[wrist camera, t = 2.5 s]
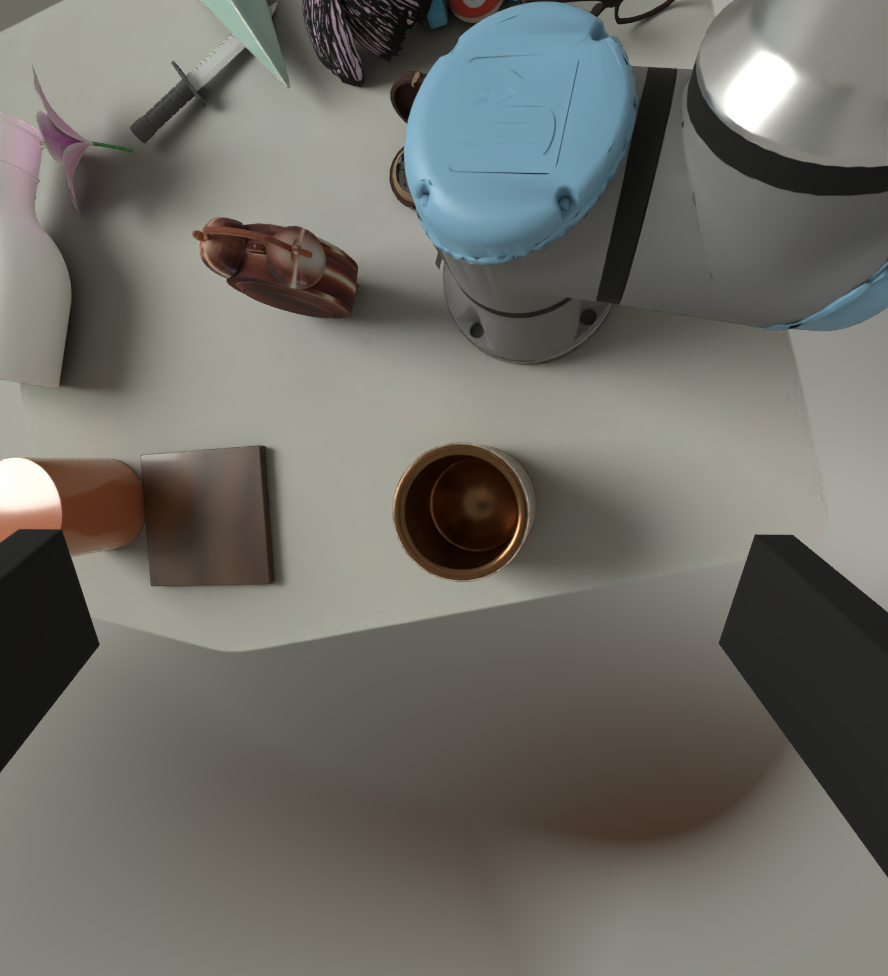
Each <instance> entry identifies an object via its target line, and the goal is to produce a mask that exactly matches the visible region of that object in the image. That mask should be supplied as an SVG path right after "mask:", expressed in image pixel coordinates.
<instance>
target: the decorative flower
mask: <svg viewBox="0 0 888 976" xmlns="http://www.w3.org/2000/svg"><path fill="white" fill-rule="evenodd" d="M301 1H302V9H303V16H304V21H305V25H306V29H307V32H308V35H309V38H310V41H311V43H312V45H313V48H314V50H315V52H316V54H317V56H318V58H319V60H320V61H321V62H322V63H323V65H325V67H326V68H329V69H330V70H331V71H332V73H333V74H335V75H337V76H338V77H339V78H340V79H341V81H342V82H343V83H346V84H350V85H353V86H360V87H361V85H362V86H363V84H364V81H365V76H364V71H363V68H362V63H361V59H360V56H359V54H358V52H357V49H356V46H355V41H354V38H355V39H356V40H357V41H358V42H359V43H360V44H361V45H362V46H364V47H365V48H366V49H368V50H369V51H370V52H372V53H373V54H375V55H376V56H378V57H380V58H382V59H384V60H387V61H389V62H390V60H391V57H393V56H401V55H400V54H399V53H398V51H400V50H401V49H403V47H401V45H402V43H403V41H404V40H405V38H406V37H405V35H406V31H407V30H408V29H409V30H410V31H411V29H412V28H413V27H414V26H415V25H417V24H420V25H422V26H423V24H424V22H425V19H426V17H427V15H428V12H429V10H430V8H431V6H430V5H431V3H432V2H433V0H301Z"/></svg>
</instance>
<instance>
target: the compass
mask: <svg viewBox="0 0 888 976" xmlns="http://www.w3.org/2000/svg"><path fill="white" fill-rule="evenodd" d="M426 76H427V74H424V73H421V72H414V71H408V72H405V73H401V74H400V75H399V76H397V77H396V79H395V81H394V83H393V86H392V89H391V92H390V97H391V102H392V105H393V107H394V109H395V111H396V112H397V114H398V115H399V116H400V117H401V118H402V119H403V120H404V121H405V122H406V123H408V119H409V115H410V112H411V109H412V106H413V103H414V100H415V98H416V96H417V93H418V91H419V89H420V87H421V85H422V83H423V81H424V79H425V78H426ZM390 184H391V188H392V190H393V192H394V194H395V195H396V197H397V199H398V200H399V201H400V202H401V203H402V204H404V205H405V206H407V207H409V208H410V209H412V210H414V209H416V206H415V203H414V200H413V198H412V195H411V192H410V189H409V186H408V182H407V178H406V172H405V163H404V147H403V148H402V149H401V150H400V151H399V152H398V153H397V155H396V156H395V158H394V160H393V162H392V165H391V168H390Z"/></svg>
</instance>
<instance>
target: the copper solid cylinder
mask: <svg viewBox="0 0 888 976" xmlns="http://www.w3.org/2000/svg"><path fill="white" fill-rule="evenodd" d="M144 521H145V507H144V494H143V485H142V483H141V481H140V479H139V478H138V476H137V475H136V473H135V472H134V471H133V470H132V469H131V468H130V467H128V466H127V465H126V464H124V463H122V462H120V461H117V460H114V459H102V458H36V457H12V458H7V459H4V460H1V461H0V542H2V541H3V540H4V539H6V538H7V537H8V536H10V535H11V534H12V533H14V532H15V531H17V530H18V529H62V531H63V534H64V537H65V540H66V543H67V546H68V549H69V553H70V556H71V557H75V556H80V555H86V554H91V553H96V552H101V551H107V550H112V549H117V548H121V547H123V546H125V545H127V544H128V543H130V542H131V541H132V540H133V539H134V538H135V537H136V536H137V535H138V534H139V532H140V530H141V528H142V526H143V524H144Z"/></svg>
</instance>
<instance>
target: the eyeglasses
mask: <svg viewBox="0 0 888 976" xmlns="http://www.w3.org/2000/svg"><path fill="white" fill-rule="evenodd" d="M577 1H600V2H601V3H598V4H596V5H595V6H594V7H593V9H592V10H591V12H590V13H591V14H593V15H594V16H596V17H598V16H599V14H600V13H601V12H602V11H603V10H604V9H605V8H608V7H610V8H612V7H615V20H616V22H617V24H627V23H632V22H636V21H639V20H642V19H645V18H647V17H650V16H652V15H654V14H656V13H658V12H659V11H661V10H663V9H665V8H666V7H668V6H669V5H670V4H671V3H672V2H673V1H674V0H667V1H666V2H665V3H663V4H662V5H660V6H658V7H656V8H655V9H653V10H651V11H649V12H647V13H644V14H642V15H639V16H635V17H631V18H619V17H618V10H619V6H620V4H621V2H622V1H623V0H522V2H523V4H525V3H531V2H560V3H565V2H577Z"/></svg>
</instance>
